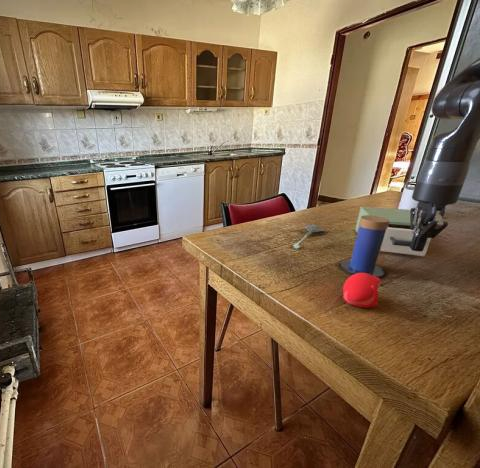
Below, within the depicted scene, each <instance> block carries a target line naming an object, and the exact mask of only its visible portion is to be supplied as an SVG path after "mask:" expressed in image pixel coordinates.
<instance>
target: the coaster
mask: <svg viewBox="0 0 480 468" xmlns="http://www.w3.org/2000/svg"><path fill="white" fill-rule="evenodd" d="M349 263H350V259H344V260H342V261H341V262H340V268H342V270H344V271H345V272H347V273H349V274H351V275H354V274H357V273H367V274H370V275H372V276H375V277H378V278H379V279H380V278H383V277H384V276H385V270H384V269H383V268H382V267H380V266H379V265H377V264H376V266H375V269H374V271H373V272H362V271H358V270H355V269H353V268H352V267H350V265H349Z"/></svg>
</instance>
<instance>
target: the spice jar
mask: <svg viewBox="0 0 480 468" xmlns="http://www.w3.org/2000/svg"><path fill="white" fill-rule="evenodd" d="M388 224H389V219H387V218H384V217H380V216H373V215H364V216H361V218H360V222H359V228H358V232H356V237H355V239H354V243H353V244H354V245H353V247H352V252H351V256H350V259H349V260H350V263H349V265H350V267H352V268H353V269H355V270H358V271H362V272H373V271H374V269H375V266H376V265H377V263H378V260H379V255H380V252H381V251H380V249H381V246H382V242H383V239H384V236H385V232H386V229H387V228H388Z"/></svg>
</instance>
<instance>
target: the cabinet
mask: <svg viewBox="0 0 480 468" xmlns="http://www.w3.org/2000/svg"><path fill="white" fill-rule="evenodd" d="M364 215H373V216H380V217H384V218H387V219H389V224H396V225H408V226H410V211H409V210H407V209H398V208H392V207H391V208H390V207H375V206H360V209H359V213H358V217H357V222H356V225H355V229H354V231H355V233H357V232H358V228H359V222H360V218H361V216H364Z"/></svg>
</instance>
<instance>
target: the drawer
mask: <svg viewBox="0 0 480 468" xmlns="http://www.w3.org/2000/svg"><path fill="white" fill-rule="evenodd" d="M412 232H413V230H411V229H410V226H408V225H396V224H388V228H387V229H386V232H385V236H384V239H383V242H382V246H381V249H380V252H384V253H385V252H386V253H394V254H403V255H409V256H410V255H412V256H419V257H426V254H427V251H428V248H429V246H430V244H431V241H432V238H427V241H426V244H425V247H424V250H423V251H421V252H419V251H413V250H412V249H411V248H410V244H411V241H412V238H413V233H412Z"/></svg>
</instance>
